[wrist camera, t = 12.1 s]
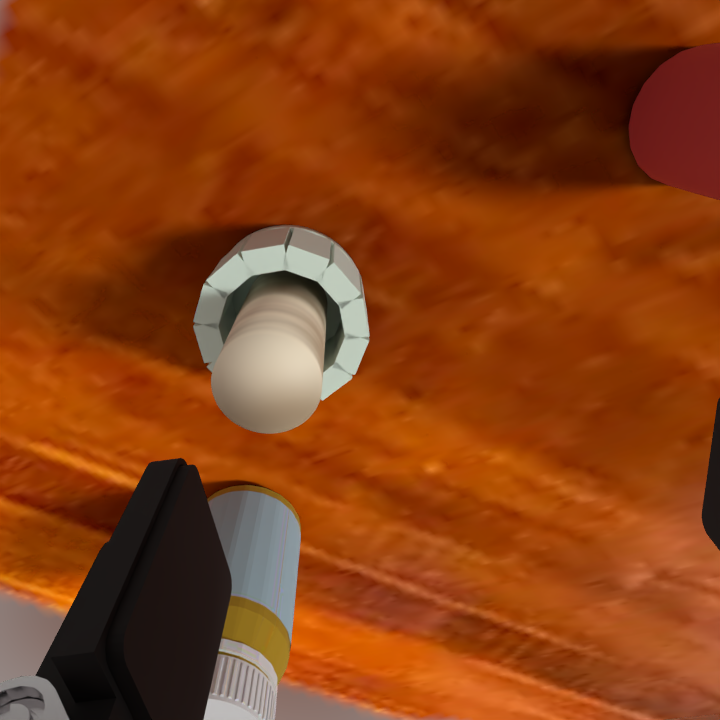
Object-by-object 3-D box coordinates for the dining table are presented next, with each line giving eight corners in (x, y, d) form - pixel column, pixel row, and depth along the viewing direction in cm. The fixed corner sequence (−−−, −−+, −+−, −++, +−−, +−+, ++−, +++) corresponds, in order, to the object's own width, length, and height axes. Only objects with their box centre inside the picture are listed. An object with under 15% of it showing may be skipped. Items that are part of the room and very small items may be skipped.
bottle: (248, 460, 38) (196, 666, 24) (322, 524, 40) (313, 745, 27) (175, 519, 40) (89, 741, 26) (250, 577, 42) (206, 810, 29)
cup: (197, 238, 32) (173, 263, 28) (350, 212, 32) (351, 232, 27) (236, 376, 36) (220, 417, 31) (374, 353, 35) (379, 392, 31)
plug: (238, 273, 32) (197, 344, 23) (319, 259, 32) (310, 326, 23) (257, 347, 34) (227, 441, 25) (334, 334, 34) (331, 424, 24)
